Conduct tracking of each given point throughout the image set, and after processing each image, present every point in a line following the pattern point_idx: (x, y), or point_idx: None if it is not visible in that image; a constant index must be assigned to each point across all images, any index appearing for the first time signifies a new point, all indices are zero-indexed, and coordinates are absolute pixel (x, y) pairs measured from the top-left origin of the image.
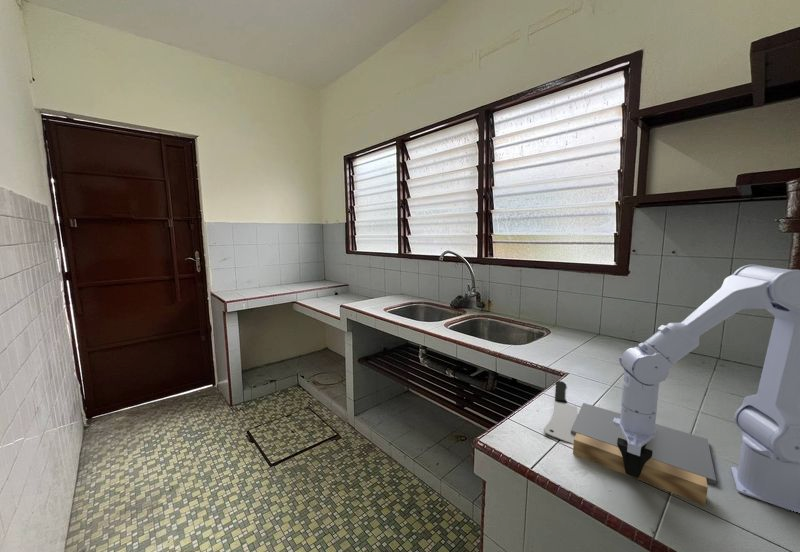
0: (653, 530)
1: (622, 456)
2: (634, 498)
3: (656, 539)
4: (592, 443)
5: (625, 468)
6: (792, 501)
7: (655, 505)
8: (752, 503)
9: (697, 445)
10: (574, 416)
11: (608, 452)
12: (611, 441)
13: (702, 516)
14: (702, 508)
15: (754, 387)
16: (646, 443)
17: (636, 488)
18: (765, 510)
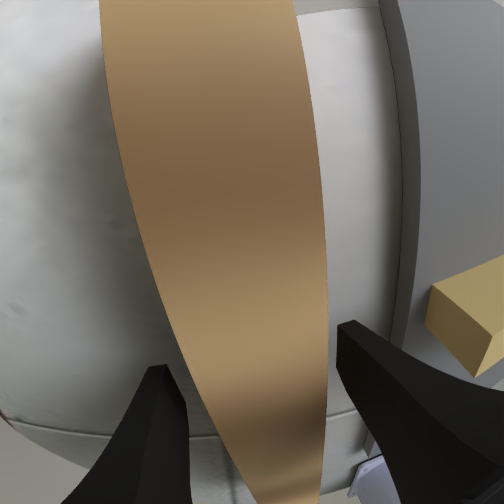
0: (23, 419)
1: (92, 467)
2: (75, 382)
3: (9, 422)
4: (179, 116)
5: (138, 393)
6: (363, 495)
7: (116, 423)
8: (337, 476)
9: (492, 377)
10: (499, 3)
11: (167, 306)
12: (445, 191)
13: (198, 473)
14: (234, 469)
15: None
16: (391, 473)
17: (140, 378)
18: (328, 484)
